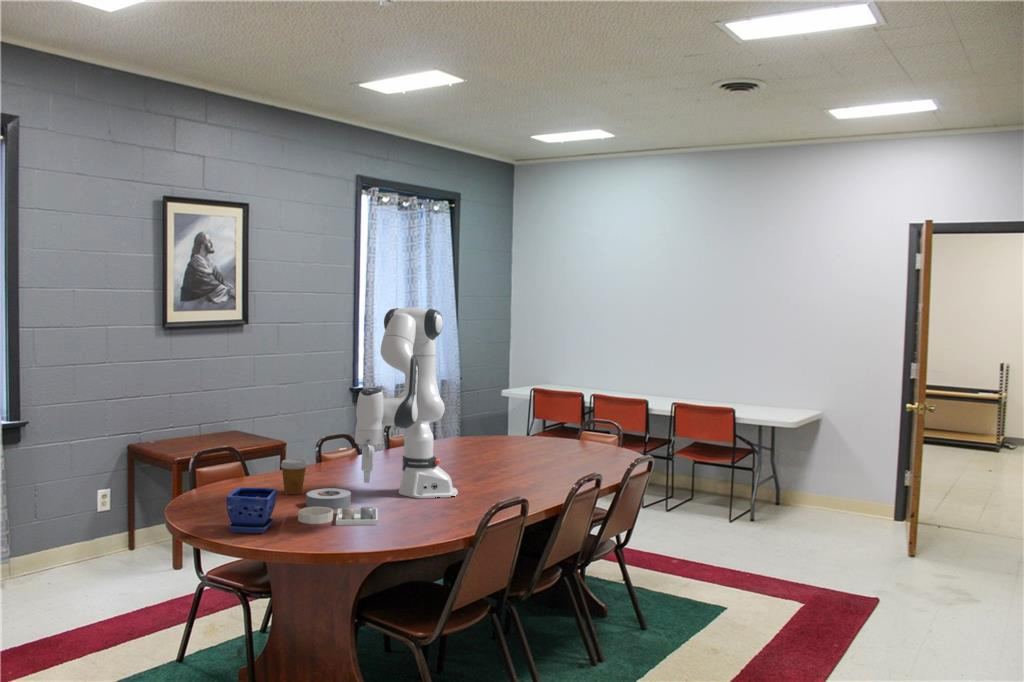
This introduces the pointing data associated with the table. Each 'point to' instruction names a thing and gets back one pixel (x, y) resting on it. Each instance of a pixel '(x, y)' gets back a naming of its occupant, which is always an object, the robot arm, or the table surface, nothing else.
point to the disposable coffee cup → (293, 475)
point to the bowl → (315, 515)
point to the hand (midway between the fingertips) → (366, 479)
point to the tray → (357, 518)
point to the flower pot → (251, 509)
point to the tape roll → (328, 498)
